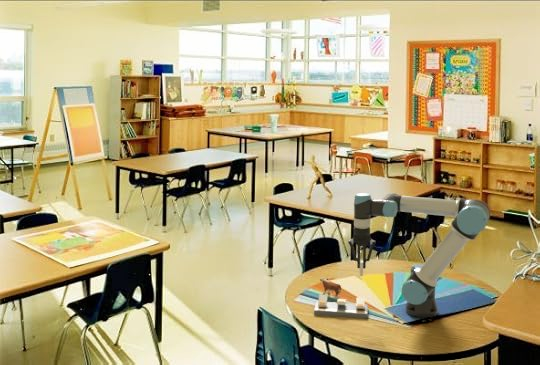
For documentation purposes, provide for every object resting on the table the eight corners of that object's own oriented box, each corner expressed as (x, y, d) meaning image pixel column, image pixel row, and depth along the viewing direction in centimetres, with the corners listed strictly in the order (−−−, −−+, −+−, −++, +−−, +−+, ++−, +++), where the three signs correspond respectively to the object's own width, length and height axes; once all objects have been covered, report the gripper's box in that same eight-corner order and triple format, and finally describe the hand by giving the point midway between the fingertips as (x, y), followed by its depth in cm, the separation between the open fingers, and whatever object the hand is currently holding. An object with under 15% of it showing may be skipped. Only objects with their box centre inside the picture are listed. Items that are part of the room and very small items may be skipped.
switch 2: (364, 299, 286) (364, 297, 285) (364, 308, 279) (364, 306, 279) (356, 299, 286) (356, 297, 286) (355, 308, 280) (355, 306, 279)
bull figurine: (323, 290, 311) (323, 275, 309) (342, 297, 301) (342, 282, 300) (317, 292, 308) (317, 277, 306) (337, 299, 298) (337, 284, 297)
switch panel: (367, 308, 287) (367, 301, 287) (367, 318, 276) (367, 311, 276) (316, 304, 292) (316, 298, 291) (314, 314, 281) (314, 307, 280)
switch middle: (346, 301, 287) (346, 299, 287) (345, 304, 280) (345, 302, 280) (337, 301, 288) (337, 298, 288) (336, 304, 281) (336, 301, 281)
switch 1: (327, 296, 288) (327, 294, 288) (326, 307, 283) (326, 305, 282) (319, 296, 289) (319, 294, 288) (318, 306, 283) (318, 304, 283)
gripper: (375, 224, 277) (375, 272, 282) (348, 224, 279) (347, 271, 284) (376, 229, 270) (375, 277, 275) (347, 228, 272) (347, 277, 276)
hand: (361, 274), depth 279 cm, fingers closed
